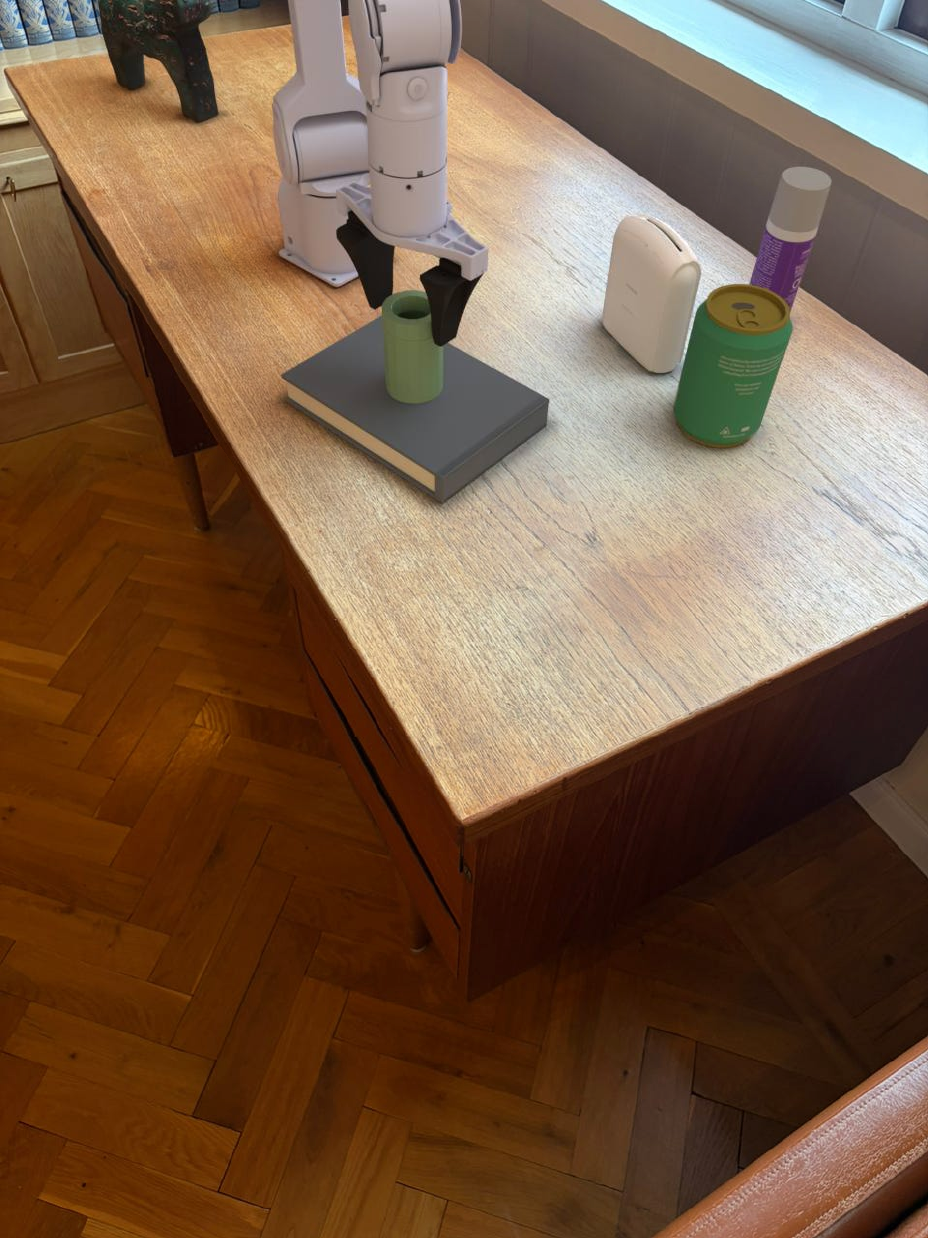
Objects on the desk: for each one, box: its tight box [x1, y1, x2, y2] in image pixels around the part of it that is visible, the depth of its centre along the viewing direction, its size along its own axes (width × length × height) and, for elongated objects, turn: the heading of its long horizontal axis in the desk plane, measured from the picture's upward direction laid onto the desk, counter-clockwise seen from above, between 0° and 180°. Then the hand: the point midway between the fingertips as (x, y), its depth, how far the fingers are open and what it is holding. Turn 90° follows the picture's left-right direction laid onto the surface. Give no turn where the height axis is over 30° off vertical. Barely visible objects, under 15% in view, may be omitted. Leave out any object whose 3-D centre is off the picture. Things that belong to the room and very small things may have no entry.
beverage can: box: [672, 283, 794, 449], centre depth 82 cm, size 8×8×12 cm
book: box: [280, 315, 551, 505], centre depth 85 cm, size 20×14×3 cm
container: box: [748, 166, 832, 313], centre depth 90 cm, size 5×5×15 cm
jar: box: [381, 289, 443, 404], centre depth 81 cm, size 5×5×8 cm
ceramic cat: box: [97, 0, 219, 123], centre depth 118 cm, size 20×6×20 cm, turn 49°
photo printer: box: [601, 212, 702, 374], centre depth 89 cm, size 10×4×12 cm, turn 26°
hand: (412, 321), depth 79 cm, fingers open, 7 cm apart
